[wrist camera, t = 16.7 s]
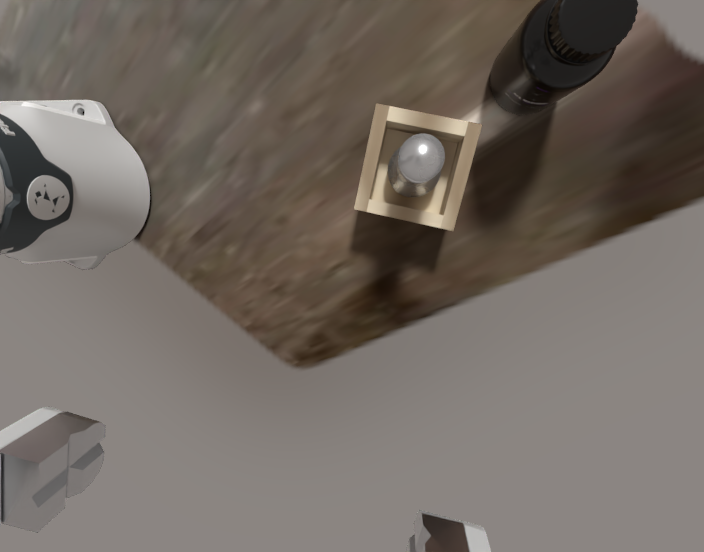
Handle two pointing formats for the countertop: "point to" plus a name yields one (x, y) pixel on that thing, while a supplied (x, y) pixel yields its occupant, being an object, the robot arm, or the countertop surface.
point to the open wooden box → (459, 152)
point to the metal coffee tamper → (416, 165)
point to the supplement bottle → (558, 51)
